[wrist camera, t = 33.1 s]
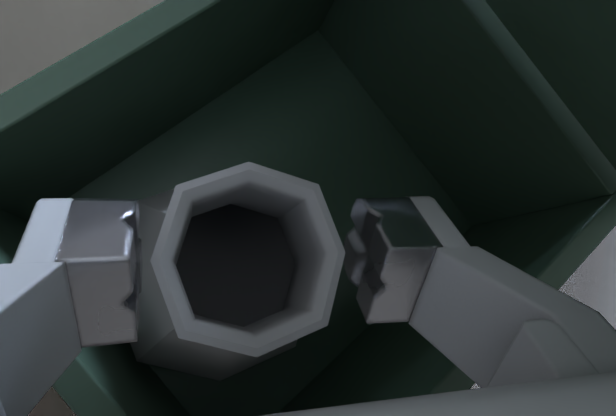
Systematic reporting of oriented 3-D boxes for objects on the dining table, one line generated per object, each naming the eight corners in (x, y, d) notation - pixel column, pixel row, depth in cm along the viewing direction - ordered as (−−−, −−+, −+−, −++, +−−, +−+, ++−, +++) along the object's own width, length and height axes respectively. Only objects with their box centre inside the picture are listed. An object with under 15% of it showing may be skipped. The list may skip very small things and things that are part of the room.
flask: (109, 178, 17) (11, 34, 7) (307, 177, 19) (431, 60, 9) (108, 391, 16) (-9, 542, 6) (319, 369, 18) (474, 460, 8)
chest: (222, 484, 19) (254, 632, 11) (6, 221, 19) (-132, 168, 11) (482, 230, 24) (640, 199, 16) (315, 18, 24) (387, -129, 16)
